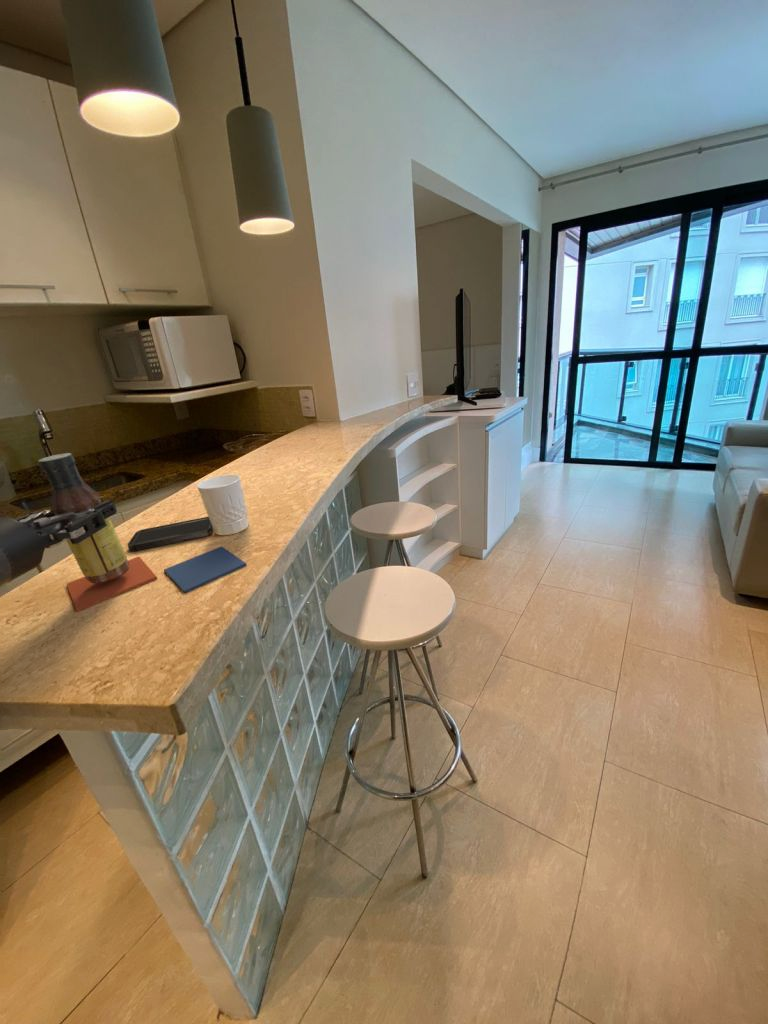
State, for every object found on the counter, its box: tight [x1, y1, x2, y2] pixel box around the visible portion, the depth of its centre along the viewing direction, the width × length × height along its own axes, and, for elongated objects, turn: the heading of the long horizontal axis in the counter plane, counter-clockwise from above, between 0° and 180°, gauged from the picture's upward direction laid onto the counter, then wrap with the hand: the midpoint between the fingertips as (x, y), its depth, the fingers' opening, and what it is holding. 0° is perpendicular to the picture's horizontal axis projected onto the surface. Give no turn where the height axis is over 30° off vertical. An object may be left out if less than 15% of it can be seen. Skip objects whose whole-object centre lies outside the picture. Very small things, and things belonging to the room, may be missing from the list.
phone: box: [127, 516, 214, 552], centre depth 81 cm, size 8×1×15 cm
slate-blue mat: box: [163, 545, 247, 594], centre depth 67 cm, size 10×10×1 cm
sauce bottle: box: [37, 452, 129, 584], centre depth 62 cm, size 6×6×20 cm
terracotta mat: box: [66, 556, 158, 613], centre depth 66 cm, size 11×11×1 cm
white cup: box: [196, 474, 250, 536], centre depth 80 cm, size 8×8×10 cm
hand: (94, 506), depth 64 cm, fingers closed on sauce bottle, 6 cm apart
